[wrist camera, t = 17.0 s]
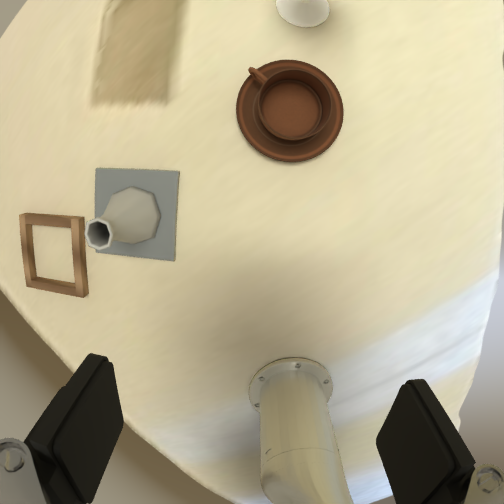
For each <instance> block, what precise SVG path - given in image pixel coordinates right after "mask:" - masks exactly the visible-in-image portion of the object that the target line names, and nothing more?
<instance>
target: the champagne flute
mask: <svg viewBox="0 0 504 504" xmlns="http://www.w3.org/2000/svg"><path fill="white" fill-rule="evenodd" d="M276 7H277V10H278V13H279V14H280V15H281V17H282V18H283V19H284V20H286V21H287V22H289V23H291V24H293V25H296V26H299V27H314V26H317V25H320V24H321V23H323V22H324V21H325V20H326V19H327V17H328V15H329V9H330V8H329V4H328V2H327V0H276Z"/></svg>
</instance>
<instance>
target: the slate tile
mask: <svg viewBox="0 0 504 504" xmlns="http://www.w3.org/2000/svg"><path fill="white" fill-rule="evenodd" d="M179 173H180V171H169V170H149V169H122V168H96V174H95V218H97V217H101V216H102V215H103V214H104V212H105V210H106V208H107V206H108V203H109V201H110V199H111V196H112V194H113V193H115V192H118V191H120V190H123V189H126V188H128V187H131V186H135V187H137V188H140V189H143V190H146V191H149V192H152V193H154V196H155V199H156V202H157V205H158V208H159V211H160V214H161V217H160V221H159V224H158V227H157V231H156V234H155V238H152V239H149V240H146V241H143V242H139V243H136V244H131V243H127V242H121V241H113V242H112V245H111V247H109V248H106V249H103V250H100V251H99V250H97V249H96V252H97V253H105V254H114V255H122V256H131V257H140V258H149V259H158V260H167V261H175V246H176V222H177V203H178V187H179Z"/></svg>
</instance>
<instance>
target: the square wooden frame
mask: <svg viewBox="0 0 504 504" xmlns="http://www.w3.org/2000/svg"><path fill="white" fill-rule="evenodd" d="M19 221H20V235H21V246H22V256H23V264H24V272H25V279H26V286H27V287H31V288H36V289H41V290H46V291H51V292H56V293H61V294H66V295H71V296H76V297H82V298H84V297H85V296H86V295H87V294H88V293H89V292H88V281H87V268H86V253H85V235H84V233H85V228H84V217H78V216H64V215H50V214H35V213H24V214H21V215H19ZM32 224H34V225H45V226H56V227H67V228H71V232H72V251H73V265H74V276H75V283H70V282H64V281H58V280H53V279H47V278H42V277H37V275H36V268H35V259H34V249H33V237H32Z"/></svg>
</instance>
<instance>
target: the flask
mask: <svg viewBox="0 0 504 504" xmlns="http://www.w3.org/2000/svg"><path fill="white" fill-rule="evenodd" d="M160 217H161V214H160V211H159V208H158V205H157V202H156V199H155V196H154V193H152V192H149V191H146V190H143V189H140V188H137V187H135V186H131V187H128V188H126V189H123V190H120V191H118V192H115V193H113V194H112V196H111V199H110V201H109V203H108V206H107V208H106V210H105V212H104V214H103V215H102V216H101V217H97V218H95V219H92V220H90V221H87V223H86V228H85V233H84V235H85V238H86V240H87V243H88V246H89V247H92V248H94V249H97V250H99V251H100V250H103V249H106V248H109V247H111V245H112V242H113V241H121V242H127V243H131V244H136V243H139V242H143V241H146V240H149V239H152V238H155V234H156V231H157V227H158V224H159V221H160Z"/></svg>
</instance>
